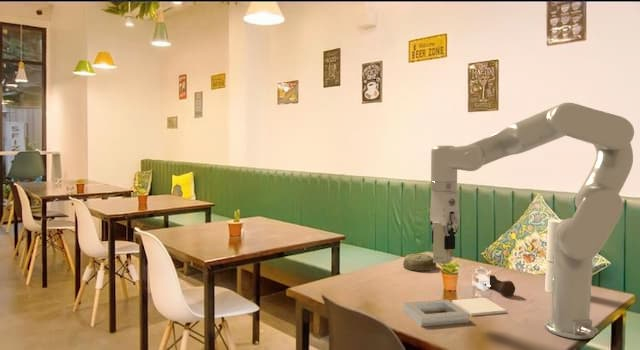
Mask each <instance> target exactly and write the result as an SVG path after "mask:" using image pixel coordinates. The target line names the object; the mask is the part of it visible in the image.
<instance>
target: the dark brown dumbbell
mask: <svg viewBox="0 0 640 350" xmlns="http://www.w3.org/2000/svg"><path fill="white" fill-rule="evenodd" d="M489 275H490V285H491V288H490V289H495V290H498V291H499V292H500V294H501V296H502V297H506V298H507V297H512V296H514V293H516V292H515V291H516V287H515V284H514V283H513V281H511V280H499V279H498V278H497V277H496V276H495V275H494V274H489Z"/></svg>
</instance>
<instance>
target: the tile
mask: <svg viewBox="0 0 640 350" xmlns="http://www.w3.org/2000/svg"><path fill="white" fill-rule="evenodd" d="M451 302H452V303H454V304H455V305H457V306H458V307H460V308H461V309H463V310H464V311H465V312H467V313H468V314H469V316H471V317H472V316H473V317H476V316H484V315H485V316H487V315H495V314H496V315H497V314H506V313H507V312H508V311H507V309H505V308H503V307H502V306H500V305H498V304H496V303H495V302H493V301H491V300H490V299H488V298H487V297H475V298H465V299H464V298H462V299H452V300H451Z"/></svg>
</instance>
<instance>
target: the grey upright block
mask: <svg viewBox="0 0 640 350" xmlns="http://www.w3.org/2000/svg"><path fill="white" fill-rule="evenodd" d="M447 224H448V225H451V224H449V223H447ZM448 230H450V228H448ZM445 236H446V233H445V229H444V227H443V226H441V224H440V223H439V222H434V232H433V245H432V246H433V248H432V249H433V250H432V257H433V263H436V264H441V265H448V264H450V263H451V262H452V261H453V249H448V250H446V249H444V238H445Z"/></svg>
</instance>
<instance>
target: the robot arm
mask: <svg viewBox="0 0 640 350" xmlns="http://www.w3.org/2000/svg"><path fill="white" fill-rule="evenodd" d="M634 135H635V129H634V126H633V124H632V122H631V121H629V120H628V119H627V118H625V117H623V116H620V115H616V114H613V113H611V112H607V111H602V110H599V109H595V108H592V107H588V106H584V105H581V104H578V103H575V102H563V103H561V104H558V105H555V106H553V107H550V108H548V109H546V110H543V111H541V112H539V113H536V114H534V115H531V116H529V117H527V118H524V119H522V120H519V121H518V122H515V123H513V124H510V125H509V126H506V127H505V128H503V129H502V130H500V131H498V132H495V133H493V134H491V135H489V136H487V137H484V138H482V139H479V140H477V141H475V142H472V143H469V144H467V145H461V146H455V145H435V146H433V147H432V148H431V153H430V170H431V171H430V193H431V196H430V204H429V205H430V207H429V216H428V218H429V220H430V226H431V227H430V230H431V244H433V232H434V222H439V223H440V224H441V226H443V227H444V229H445V233H446V236H445V238H444V249H446V250H448V249H452V250H455V249H456V236H457V233H458V230H459V228H460V204H459V203H460V202H459V196H458V170H459V171H466V172H475V171H477V170H479V169H481V168H482V167H483V166H486V165H488V164H490V163H492V162H495V161H497V160H501V159H503V158H505V157H509V156H512V155H518V154H522V153H526V152H528V151H531V150H533V149H536V148H538V147H540V146H543V145H545V144H548V143H550V142H554V141H556V140H559V139H560V138H563V137H566V136H567V137H570V138H573V139H575V140H578V141H581V142H583V143H584V142H585V143H588V144H591V145H593V146H594V148H595V153H596V158H595V160H594V163H593V166H592V167H591V170H590V171H589V173H588V175H587V177H586V178H585V180H584V182H583V184H582V185H581V187H580V188H579V190H578V191H577V193H576V196H575V200H574V203H575V207H576V209H575V211H574V214H573V215H572V217H568V218H565V219H561V220H562V221H561V222H560V223H559V224H558V225H557V226H556V228H555V231H554V238H553V240H554V270H553V289H552V293H551V313H550V314H551V316H550V318H548V319H546V320H545V322H544V327H545V329H546V330H547V331H549V332H550V333H552V334H554V335H557V336H560V337H563V338H567V339H575V340H589V339H592V338H594V337H595V336H596V335H597V334H598V333H599V329H598V328H596V327H594V326H593V320H592V319H591V318H590V317H591V301H592V300H591V298H592V296H591V295H592V282H593V281H592V280H593V258H595V257H596V256H597V255H598V254H599V253H600V251H602V249H603V248H604V246H605V244H606V243H607V241H608V239H609V237H610V236H611V234H612V233H613V230H614V229H615V228H616V225H617V224H618V223H619V221H620V218H621V216H622V213H623V208H624V204H623V200H622V197H621V195H620V192H621V190H622V189H623V187H624V185H625V183H626V181H627V179H628V177H629V174H630V173H631V170H632V167H633V163H634V153H633V147H632V144H631V142H632V141H633V139H634ZM447 223H449V224H451V225H448V224H447ZM448 228H450V230H448Z"/></svg>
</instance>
